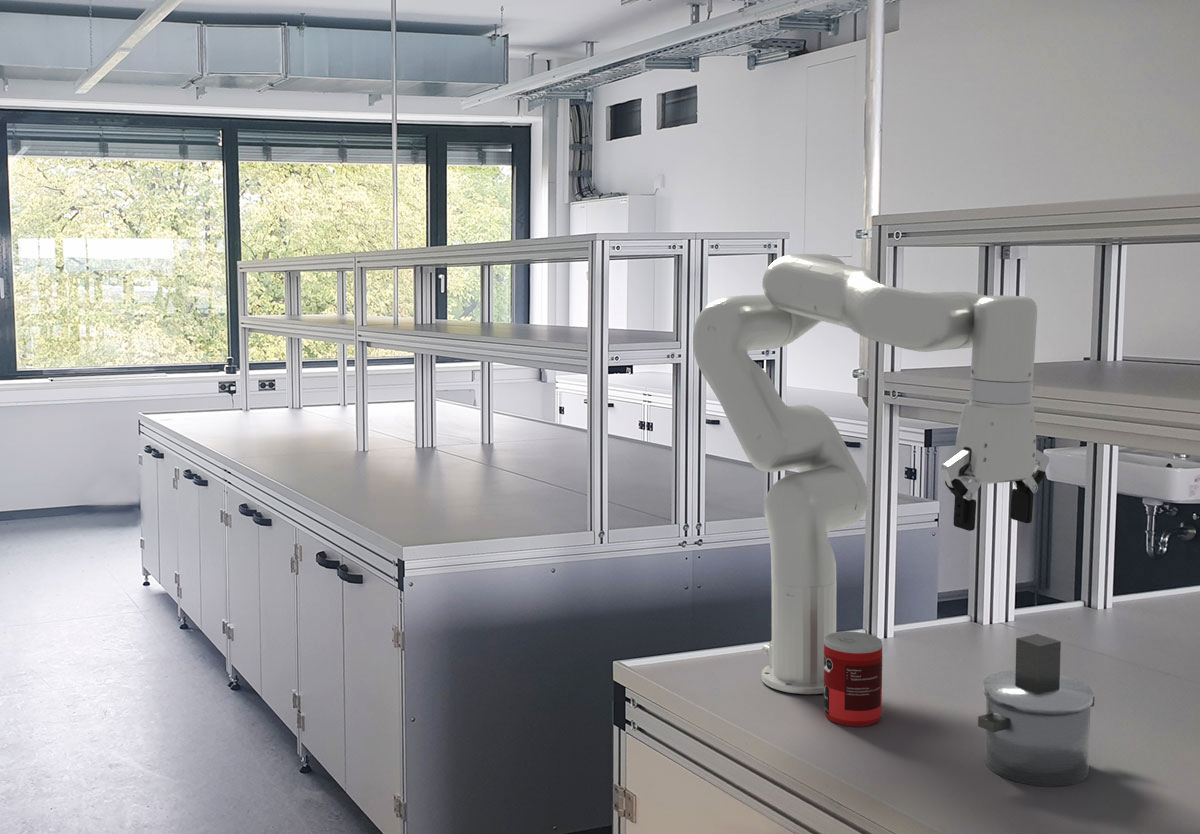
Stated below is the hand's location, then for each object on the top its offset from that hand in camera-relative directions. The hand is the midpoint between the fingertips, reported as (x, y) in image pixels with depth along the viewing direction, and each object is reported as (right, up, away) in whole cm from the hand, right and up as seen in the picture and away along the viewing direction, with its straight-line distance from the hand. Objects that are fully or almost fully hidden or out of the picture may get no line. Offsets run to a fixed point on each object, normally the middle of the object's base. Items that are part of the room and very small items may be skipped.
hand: (992, 524), depth 153 cm
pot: (+3, -29, -7) cm, 30 cm away
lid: (+3, -20, -8) cm, 22 cm away
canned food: (-16, -28, +10) cm, 34 cm away
